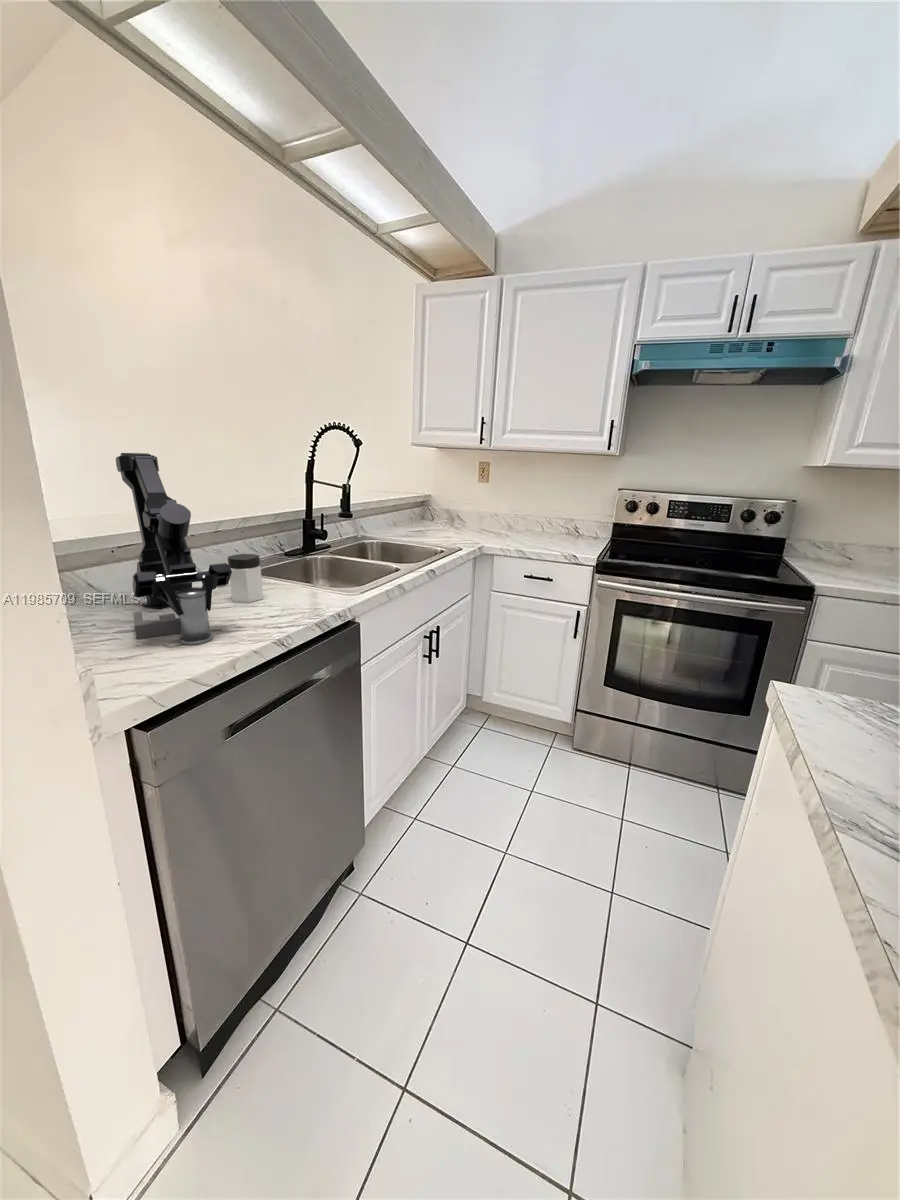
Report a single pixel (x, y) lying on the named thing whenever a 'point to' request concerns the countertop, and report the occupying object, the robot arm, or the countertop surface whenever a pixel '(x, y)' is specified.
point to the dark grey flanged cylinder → (193, 616)
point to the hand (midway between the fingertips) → (194, 612)
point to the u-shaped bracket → (156, 626)
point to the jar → (245, 577)
